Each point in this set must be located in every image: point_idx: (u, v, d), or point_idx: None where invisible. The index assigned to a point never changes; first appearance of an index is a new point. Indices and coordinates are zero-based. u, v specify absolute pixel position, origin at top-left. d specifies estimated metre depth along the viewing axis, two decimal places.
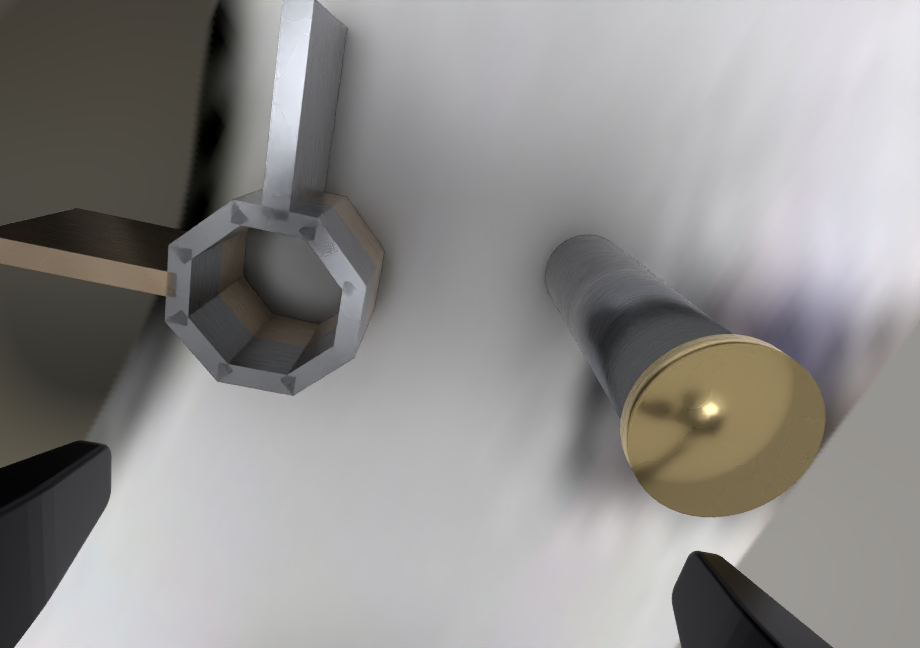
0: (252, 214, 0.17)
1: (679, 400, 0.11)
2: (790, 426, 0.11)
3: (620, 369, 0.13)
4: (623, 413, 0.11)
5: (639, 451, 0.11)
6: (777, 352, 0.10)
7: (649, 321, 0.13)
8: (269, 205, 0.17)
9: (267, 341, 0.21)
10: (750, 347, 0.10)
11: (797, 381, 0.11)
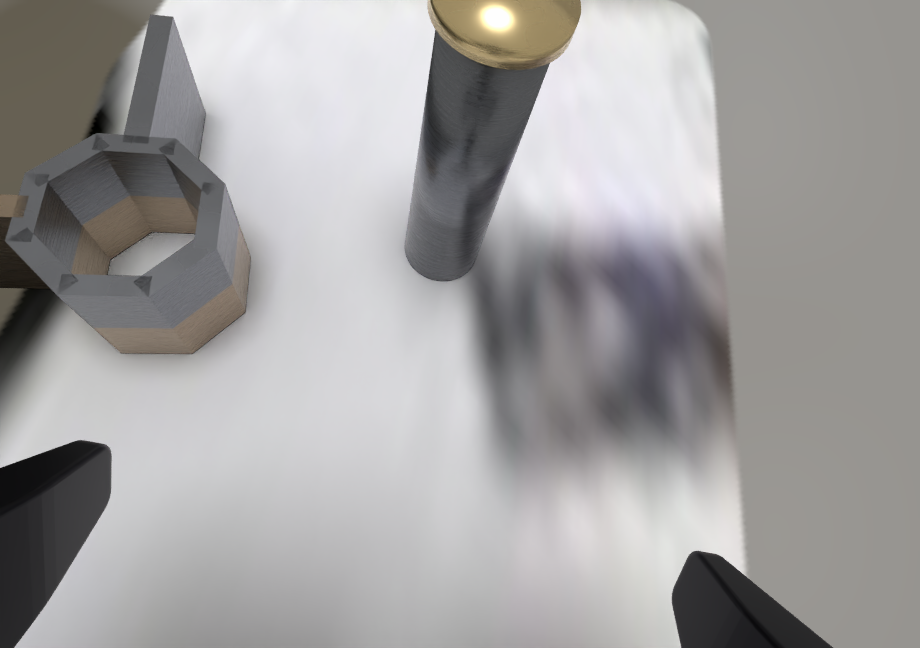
0: (114, 141, 0.19)
1: None
2: None
3: (432, 51, 0.16)
4: (428, 7, 0.14)
5: (445, 4, 0.13)
6: None
7: None
8: (131, 134, 0.19)
9: None
10: None
11: None
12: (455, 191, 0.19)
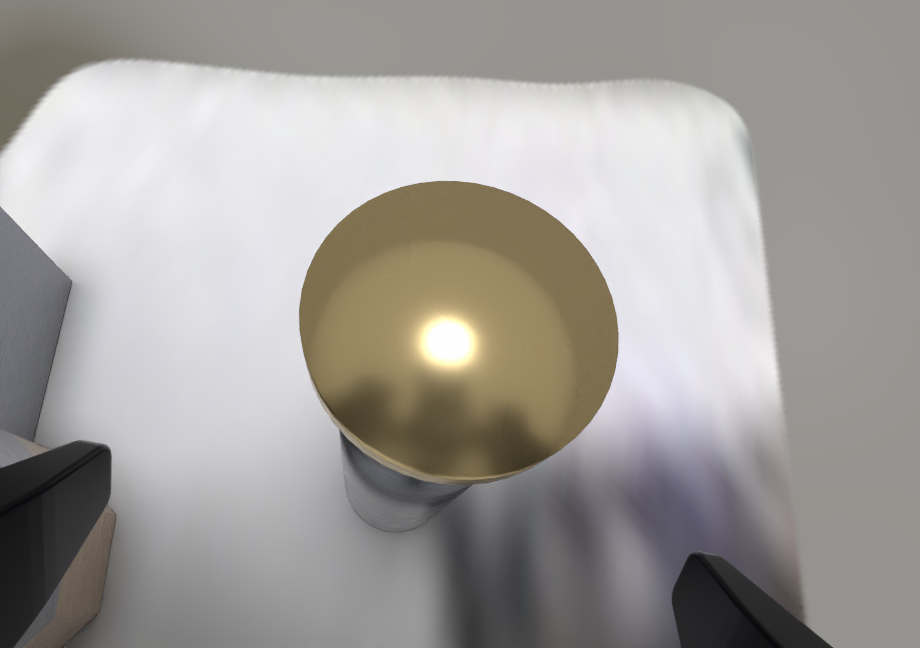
0: None
1: (365, 268, 0.07)
2: (553, 280, 0.07)
3: None
4: None
5: (329, 366, 0.06)
6: None
7: None
8: None
9: None
10: (437, 183, 0.07)
11: (525, 216, 0.07)
12: (397, 507, 0.11)
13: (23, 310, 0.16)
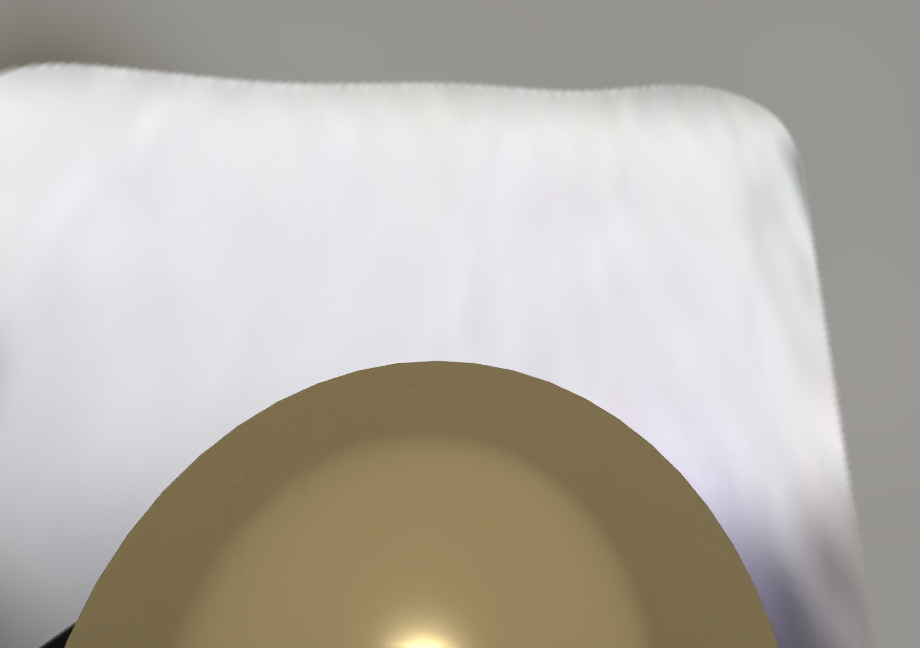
0: None
1: (217, 614, 0.03)
2: (647, 599, 0.03)
3: None
4: None
5: None
6: (478, 364, 0.04)
7: None
8: None
9: None
10: (397, 369, 0.04)
11: (580, 437, 0.04)
12: None
13: None
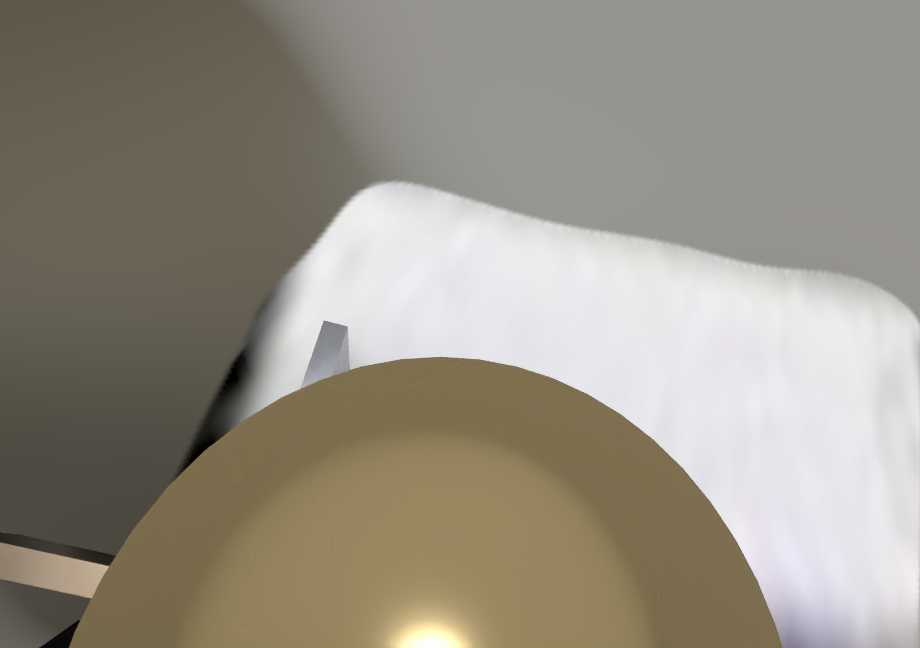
0: None
1: (223, 607, 0.03)
2: (650, 593, 0.03)
3: None
4: None
5: None
6: (481, 360, 0.04)
7: None
8: None
9: None
10: (401, 365, 0.04)
11: (583, 433, 0.04)
12: None
13: None
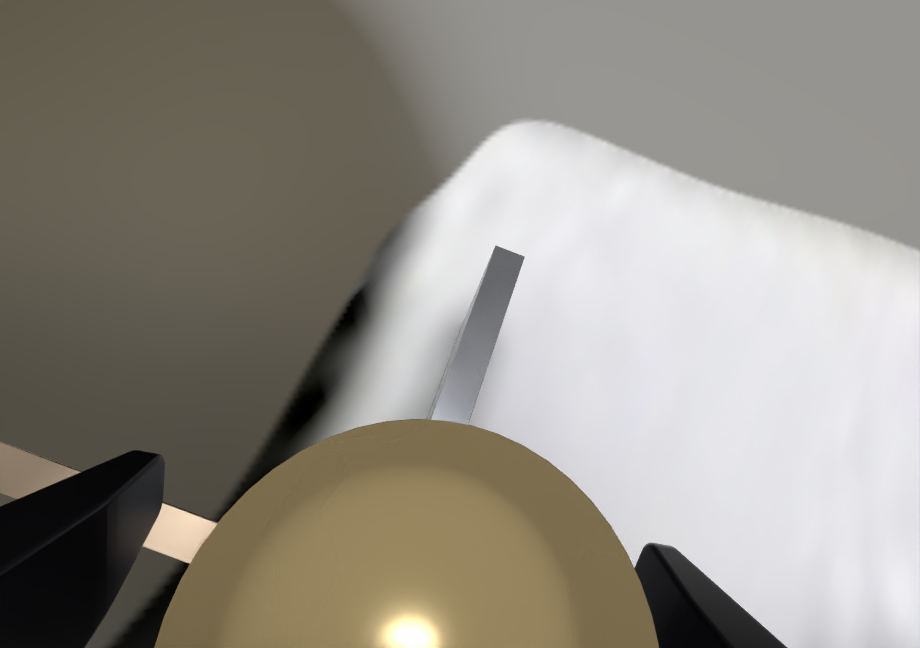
0: None
1: (262, 601, 0.04)
2: (561, 591, 0.05)
3: None
4: None
5: None
6: (445, 421, 0.05)
7: None
8: None
9: None
10: (386, 425, 0.05)
11: (518, 475, 0.05)
12: None
13: None
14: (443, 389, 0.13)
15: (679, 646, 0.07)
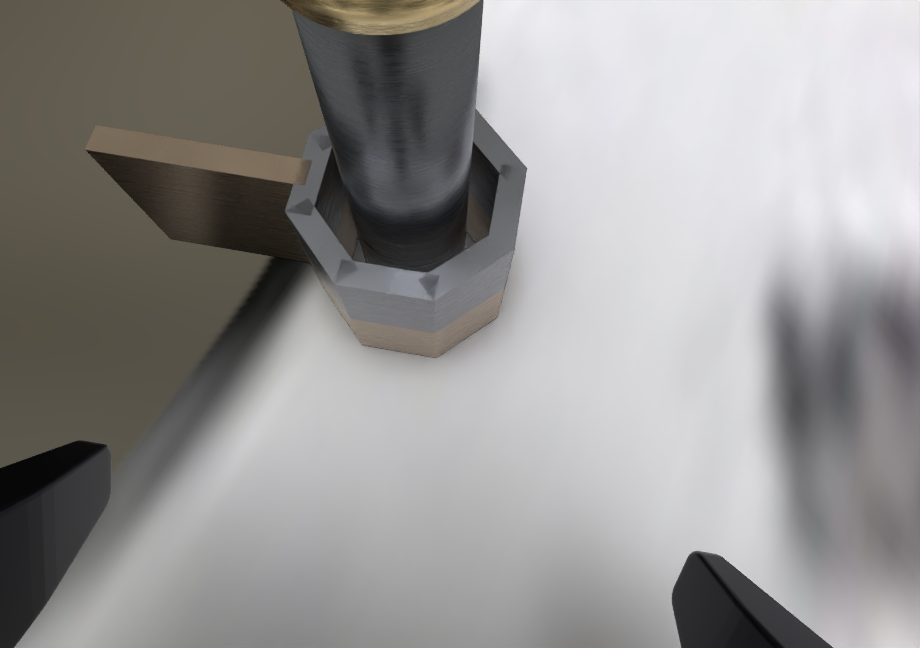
0: None
1: None
2: None
3: None
4: None
5: None
6: None
7: None
8: None
9: None
10: None
11: None
12: (399, 217, 0.13)
13: None
14: None
15: None
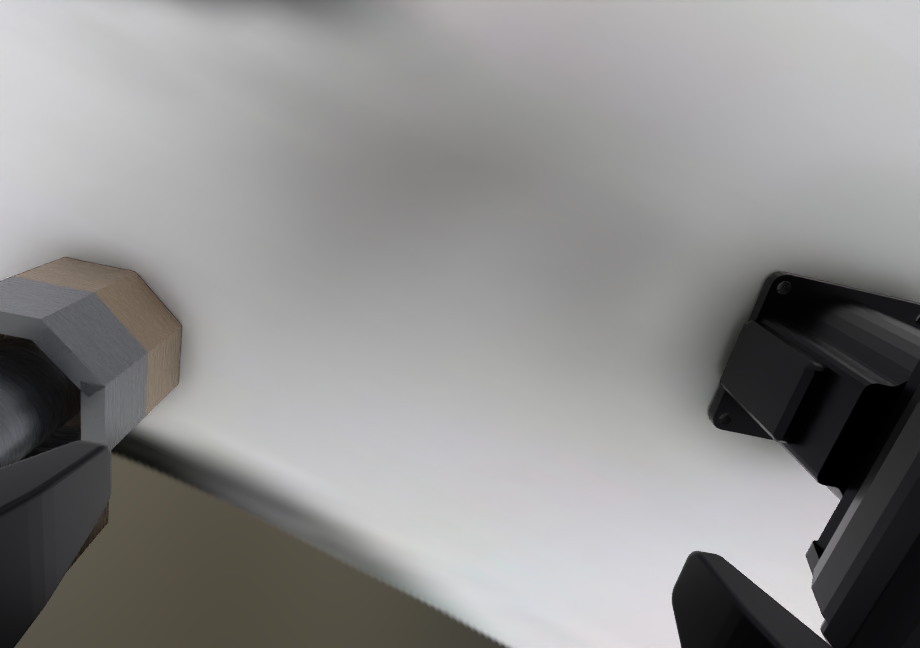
0: None
1: None
2: None
3: None
4: None
5: None
6: None
7: None
8: None
9: None
10: None
11: None
12: (25, 431, 0.16)
13: None
14: None
15: None
